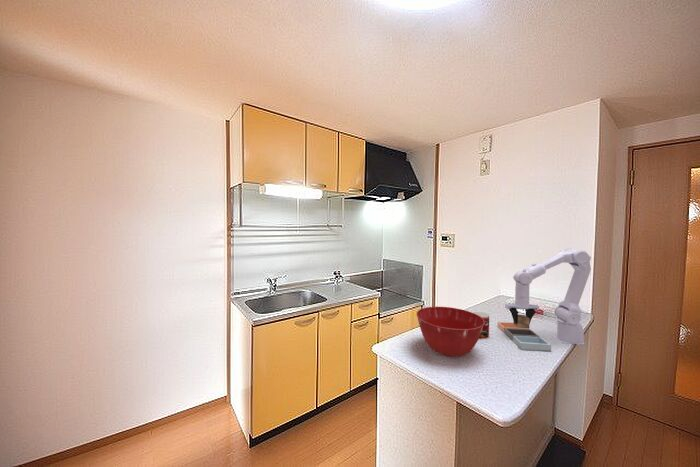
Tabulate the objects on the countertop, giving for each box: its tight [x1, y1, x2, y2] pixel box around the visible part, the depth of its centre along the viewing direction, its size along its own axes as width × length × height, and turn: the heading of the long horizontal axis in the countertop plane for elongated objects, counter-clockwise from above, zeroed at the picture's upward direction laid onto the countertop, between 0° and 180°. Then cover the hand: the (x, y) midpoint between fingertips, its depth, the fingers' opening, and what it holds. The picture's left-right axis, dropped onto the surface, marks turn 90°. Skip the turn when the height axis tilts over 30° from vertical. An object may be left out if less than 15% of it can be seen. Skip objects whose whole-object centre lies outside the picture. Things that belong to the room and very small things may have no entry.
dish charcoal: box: [504, 328, 541, 341], centre depth 131 cm, size 12×8×3 cm
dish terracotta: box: [497, 321, 531, 334], centre depth 139 cm, size 12×8×3 cm
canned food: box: [473, 311, 490, 340], centre depth 133 cm, size 8×8×11 cm
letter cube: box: [512, 314, 530, 329], centre depth 131 cm, size 5×5×5 cm
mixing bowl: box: [416, 306, 485, 358], centre depth 118 cm, size 28×28×16 cm
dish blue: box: [512, 336, 552, 352], centre depth 122 cm, size 12×8×3 cm
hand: (521, 323), depth 130 cm, fingers closed on letter cube, 5 cm apart
